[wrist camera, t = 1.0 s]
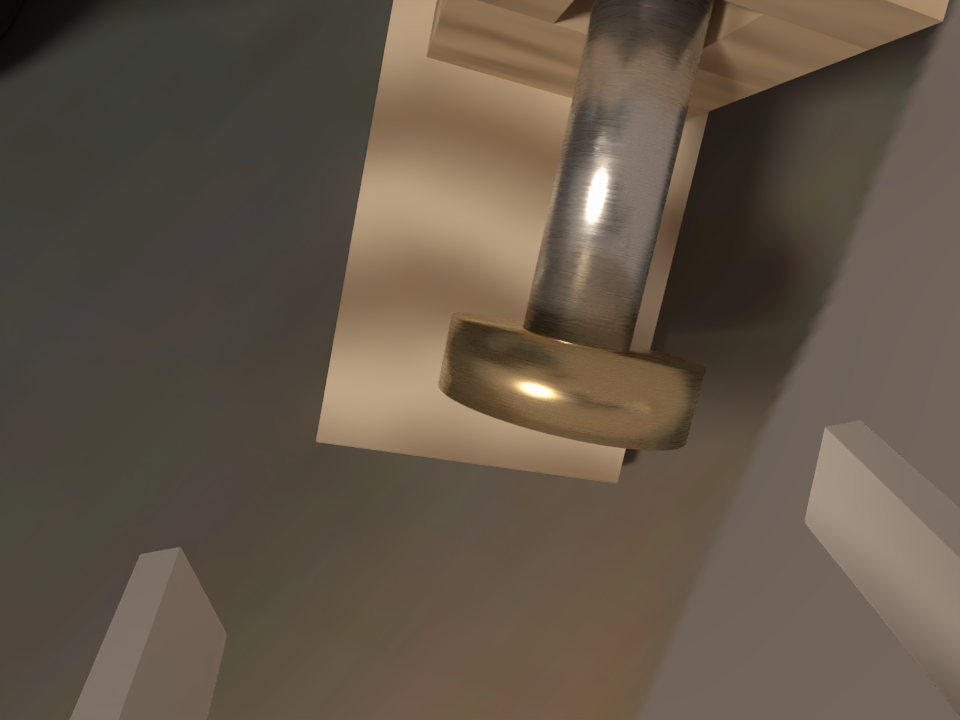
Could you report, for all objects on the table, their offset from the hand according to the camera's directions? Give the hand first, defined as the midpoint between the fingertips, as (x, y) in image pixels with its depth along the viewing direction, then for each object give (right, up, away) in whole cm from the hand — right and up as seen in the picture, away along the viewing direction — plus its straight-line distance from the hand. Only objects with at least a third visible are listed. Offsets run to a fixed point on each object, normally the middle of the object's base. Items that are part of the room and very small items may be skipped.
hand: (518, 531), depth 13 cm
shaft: (+2, +9, +7) cm, 11 cm away
